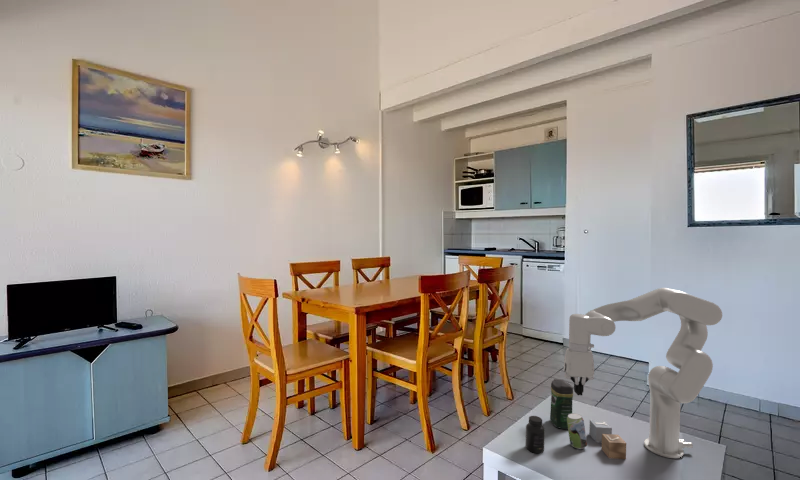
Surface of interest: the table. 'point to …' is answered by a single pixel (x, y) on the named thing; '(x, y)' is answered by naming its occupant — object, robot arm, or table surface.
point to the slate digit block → (599, 429)
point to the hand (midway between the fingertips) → (578, 393)
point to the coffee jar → (560, 402)
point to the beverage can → (576, 431)
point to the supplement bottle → (535, 435)
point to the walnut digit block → (614, 446)
